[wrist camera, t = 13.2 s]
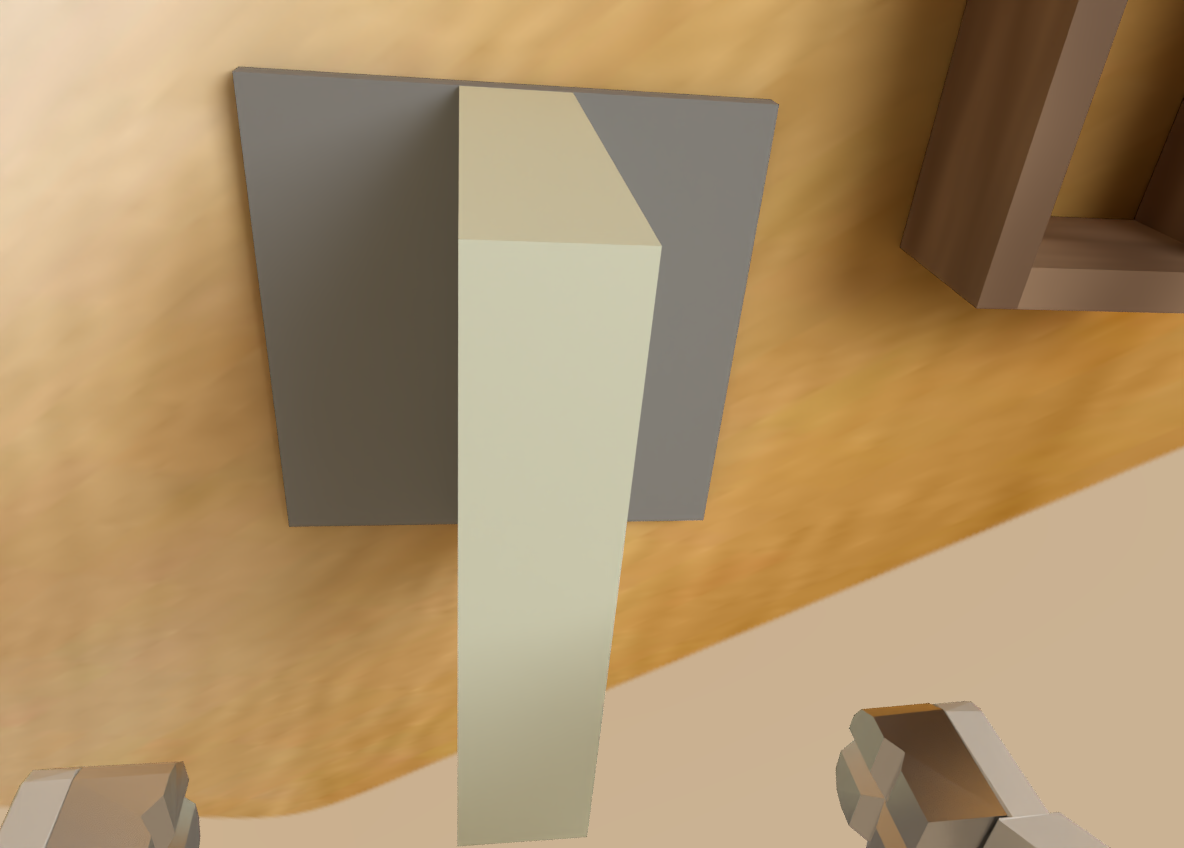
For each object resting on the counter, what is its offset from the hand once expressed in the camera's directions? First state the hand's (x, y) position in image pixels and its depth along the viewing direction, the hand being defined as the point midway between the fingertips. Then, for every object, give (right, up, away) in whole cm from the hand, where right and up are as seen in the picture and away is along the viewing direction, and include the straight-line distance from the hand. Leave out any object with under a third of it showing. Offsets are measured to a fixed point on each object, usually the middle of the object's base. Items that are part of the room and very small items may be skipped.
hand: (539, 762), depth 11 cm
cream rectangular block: (-1, +6, +11) cm, 13 cm away
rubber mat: (-2, +7, +12) cm, 14 cm away
